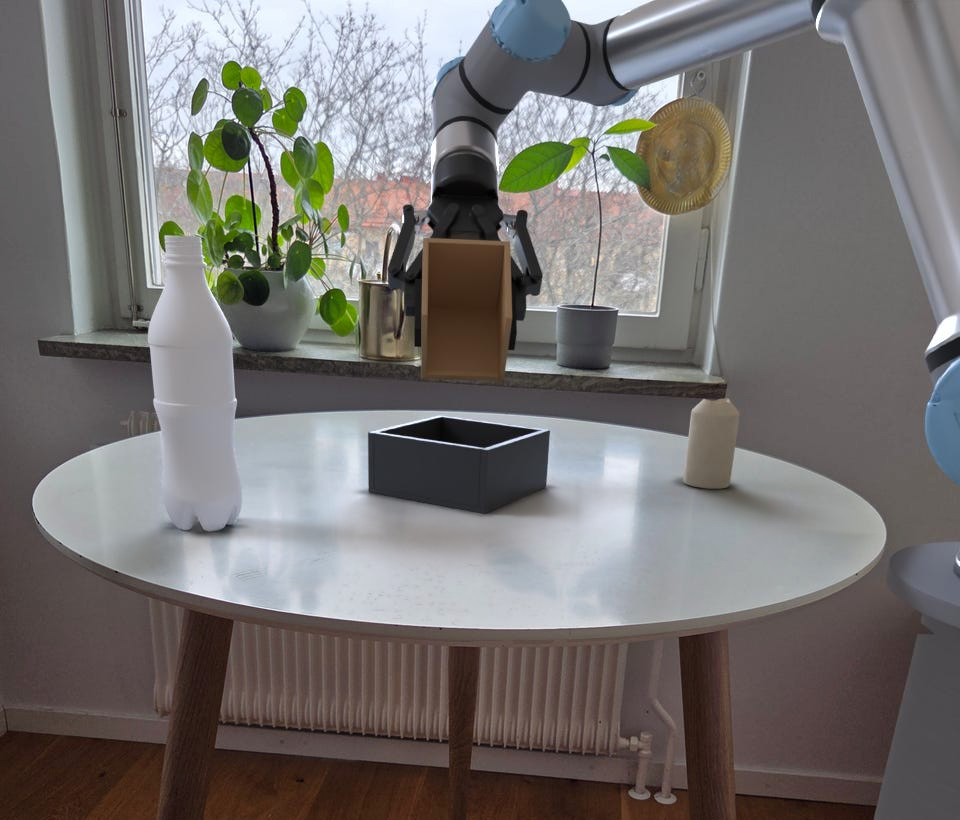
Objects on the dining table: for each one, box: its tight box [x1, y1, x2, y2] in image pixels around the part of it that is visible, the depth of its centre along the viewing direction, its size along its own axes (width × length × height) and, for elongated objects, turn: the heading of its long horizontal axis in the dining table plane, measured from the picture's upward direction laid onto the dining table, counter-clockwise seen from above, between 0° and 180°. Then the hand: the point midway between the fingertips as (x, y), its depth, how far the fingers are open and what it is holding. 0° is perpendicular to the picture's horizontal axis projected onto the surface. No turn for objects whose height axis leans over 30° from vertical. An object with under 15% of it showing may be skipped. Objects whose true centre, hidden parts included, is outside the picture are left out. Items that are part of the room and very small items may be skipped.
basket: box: [367, 414, 551, 514], centre depth 103 cm, size 15×15×6 cm
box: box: [420, 237, 512, 383], centre depth 99 cm, size 10×9×10 cm
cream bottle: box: [682, 398, 741, 490], centre depth 110 cm, size 6×6×10 cm
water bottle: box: [147, 234, 243, 532], centre depth 83 cm, size 7×7×25 cm
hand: (465, 339), depth 96 cm, fingers closed on box, 9 cm apart
